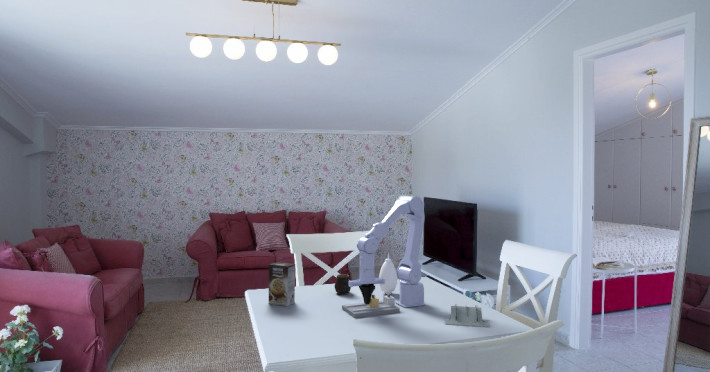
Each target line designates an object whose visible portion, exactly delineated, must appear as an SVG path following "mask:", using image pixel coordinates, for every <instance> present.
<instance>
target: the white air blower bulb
mask: <svg viewBox="0 0 710 372" xmlns="http://www.w3.org/2000/svg"><path fill="white" fill-rule="evenodd" d="M396 271H397V268H396V267H395V264H394V263H393V261H392V259H391V258H390V253H389V252H388V253H387V258H385V260H384V262H383V263H382V265H381V268H380V271H379V275H378V278H384V279H385V284H378V286H379V287H380V290H381V291H382V292H383V293H384V294H385V295H387V294H392V293H393V292H395V290H396V288H397V286H398V285H397V284H398V277H397V274H396Z"/></svg>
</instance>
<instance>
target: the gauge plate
mask: <svg viewBox="0 0 710 372" xmlns="http://www.w3.org/2000/svg"><path fill="white" fill-rule="evenodd" d="M391 294H392V293H390V294H386V295H383V296H382V297H383V299H382V300H379V306H378V307H371V306H369V305H367V304H365V303H364V302H359V303H351V304H349V303H348V304H344V305H341V310H343V312H345V313H347V314H348V315H350V317H352V318H353V319H358V318H364V317H365V318H366V317H372V316H381V315H387V314H394V313H395V314H396V313H400V312H401V311H400V307H398V306H397V305H396V298H395V297H394V296H392V295H391Z"/></svg>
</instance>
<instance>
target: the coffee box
mask: <svg viewBox="0 0 710 372" xmlns="http://www.w3.org/2000/svg"><path fill="white" fill-rule="evenodd" d="M295 288H296V263H288V262H279V261H277V262H272V263H270V264H268V304H269V305H276V306H282V307H283V306H284V307H289V306H291V305H293V304H295V303H296V301H295V298H296V293H295V292H296V289H295Z"/></svg>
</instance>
